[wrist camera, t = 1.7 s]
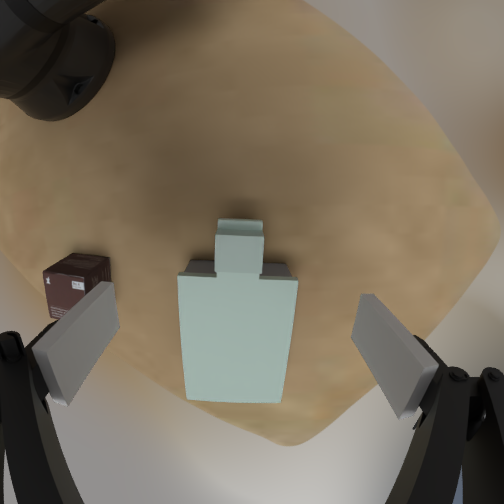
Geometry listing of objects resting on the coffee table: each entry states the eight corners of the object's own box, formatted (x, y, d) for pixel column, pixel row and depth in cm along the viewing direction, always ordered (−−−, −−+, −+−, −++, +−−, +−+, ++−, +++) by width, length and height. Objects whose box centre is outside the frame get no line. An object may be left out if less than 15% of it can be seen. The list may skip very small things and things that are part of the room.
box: (76, 293, 34) (48, 318, 26) (72, 251, 32) (41, 270, 25) (113, 300, 34) (89, 328, 27) (111, 256, 32) (83, 278, 25)
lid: (178, 216, 26) (169, 223, 23) (302, 222, 27) (310, 229, 23) (188, 393, 32) (184, 413, 29) (279, 397, 33) (282, 416, 30)
